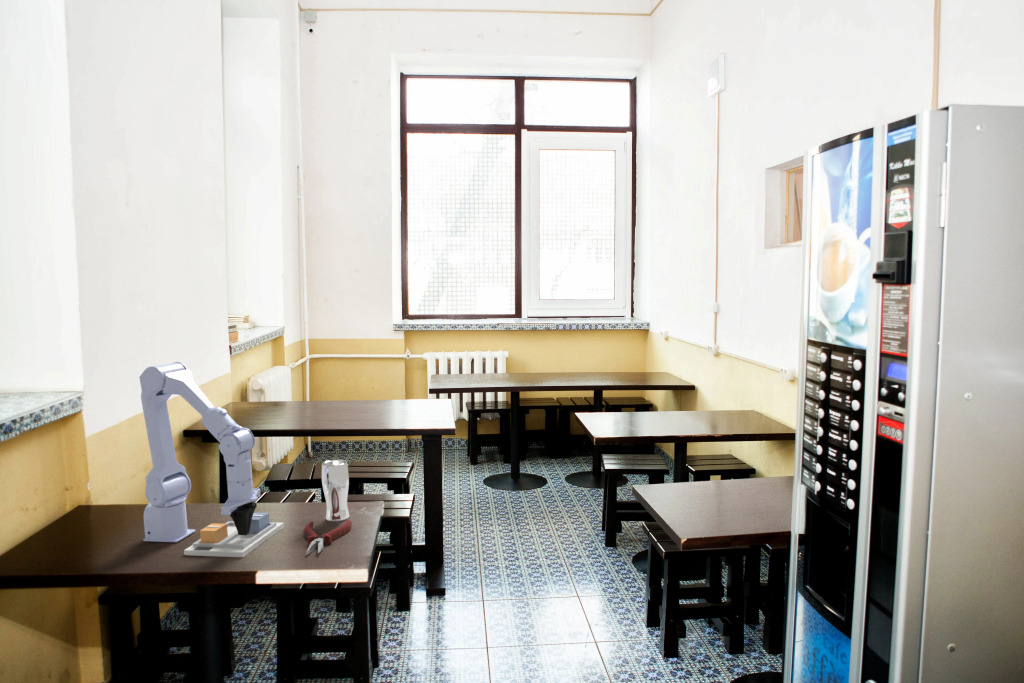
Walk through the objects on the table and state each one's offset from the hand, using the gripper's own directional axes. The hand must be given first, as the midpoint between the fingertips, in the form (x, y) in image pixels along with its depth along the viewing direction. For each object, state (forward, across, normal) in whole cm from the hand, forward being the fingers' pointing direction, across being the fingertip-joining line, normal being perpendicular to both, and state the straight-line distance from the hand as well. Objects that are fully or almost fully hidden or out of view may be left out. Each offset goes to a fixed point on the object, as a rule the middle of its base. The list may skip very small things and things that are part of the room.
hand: (243, 534), depth 179 cm
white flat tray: (+2, +2, +3) cm, 5 cm away
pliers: (+3, +4, -17) cm, 18 cm away
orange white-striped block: (+1, -2, +7) cm, 7 cm away
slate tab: (+1, +6, 0) cm, 6 cm away
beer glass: (+3, +20, -16) cm, 25 cm away
